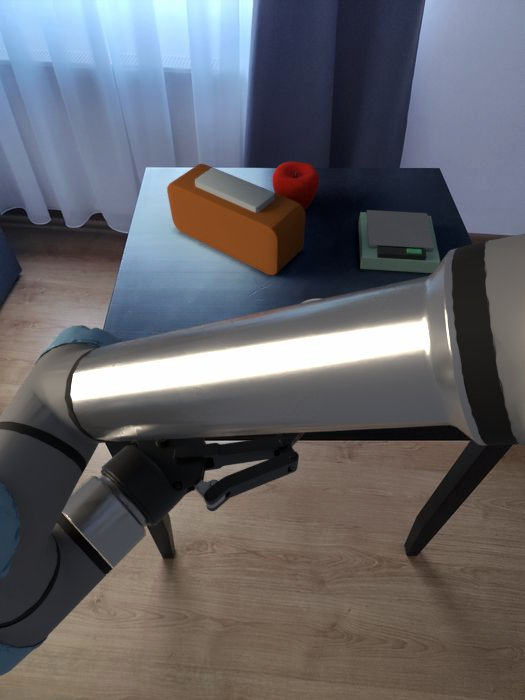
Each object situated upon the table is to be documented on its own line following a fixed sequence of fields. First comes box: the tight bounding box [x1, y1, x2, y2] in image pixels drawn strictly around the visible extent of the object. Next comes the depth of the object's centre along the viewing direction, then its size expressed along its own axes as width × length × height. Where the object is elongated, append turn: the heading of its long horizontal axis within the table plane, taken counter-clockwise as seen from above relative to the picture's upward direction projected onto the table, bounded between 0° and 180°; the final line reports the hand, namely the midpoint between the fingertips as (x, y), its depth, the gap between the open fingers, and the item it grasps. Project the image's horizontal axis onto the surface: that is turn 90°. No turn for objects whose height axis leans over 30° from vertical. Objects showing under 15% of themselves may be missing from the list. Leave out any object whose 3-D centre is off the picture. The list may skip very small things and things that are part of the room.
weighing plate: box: [365, 209, 434, 251], centre depth 85 cm, size 10×11×1 cm
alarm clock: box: [166, 163, 307, 276], centre depth 83 cm, size 24×8×11 cm, turn 54°
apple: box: [272, 161, 320, 211], centre depth 92 cm, size 9×9×8 cm
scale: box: [357, 211, 441, 274], centre depth 85 cm, size 13×13×4 cm
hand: (269, 363), depth 55 cm, fingers open, 13 cm apart
